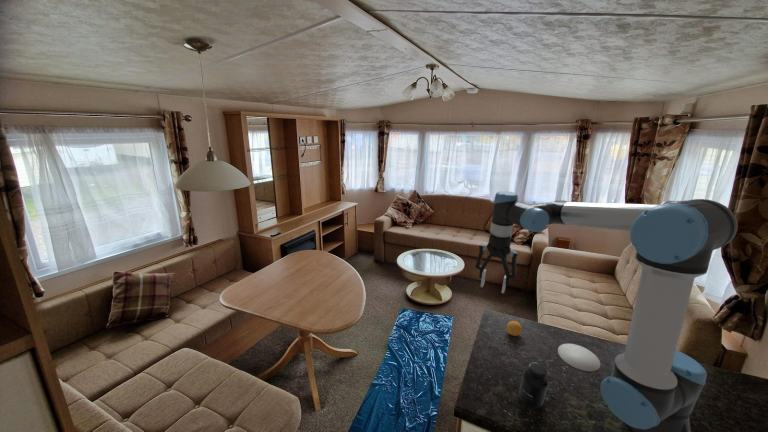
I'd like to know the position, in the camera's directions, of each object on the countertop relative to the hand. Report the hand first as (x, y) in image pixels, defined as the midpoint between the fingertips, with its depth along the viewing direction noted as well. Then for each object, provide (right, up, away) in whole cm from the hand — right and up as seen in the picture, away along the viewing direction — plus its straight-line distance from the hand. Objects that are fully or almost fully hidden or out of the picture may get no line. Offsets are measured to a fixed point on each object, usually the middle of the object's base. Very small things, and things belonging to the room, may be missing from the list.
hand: (492, 288), depth 121 cm
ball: (+8, -15, 0) cm, 18 cm away
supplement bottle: (+2, -27, -27) cm, 39 cm away
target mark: (+27, -22, -10) cm, 36 cm away
